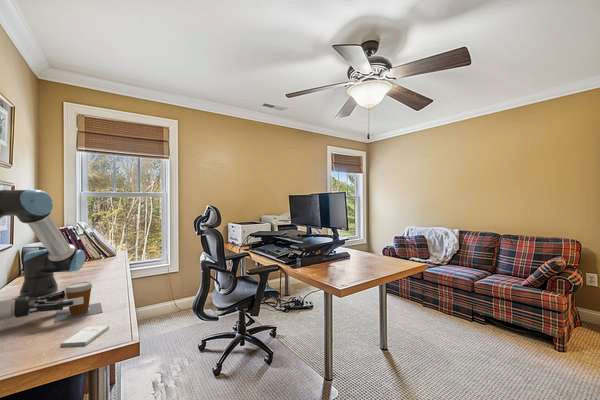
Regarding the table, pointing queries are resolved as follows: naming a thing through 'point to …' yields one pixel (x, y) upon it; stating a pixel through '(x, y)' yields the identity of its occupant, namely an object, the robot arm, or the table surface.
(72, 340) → the external hard drive
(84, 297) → the disposable coffee cup
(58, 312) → the tile
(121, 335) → the table surface
